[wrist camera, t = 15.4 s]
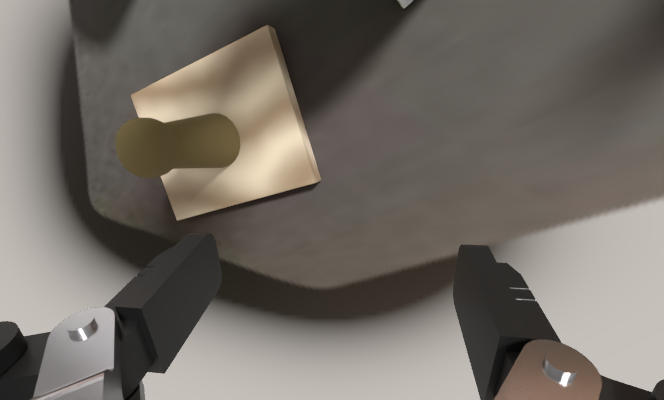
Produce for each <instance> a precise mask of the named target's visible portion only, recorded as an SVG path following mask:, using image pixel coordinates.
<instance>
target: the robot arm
mask: <svg viewBox="0 0 664 400" xmlns="http://www.w3.org/2000/svg"><path fill="white" fill-rule="evenodd" d="M221 280H222V271H221V266H220V261H219V256H218V252H217V247H216V242H215V239H214V237H213V235H212V234H202V233H188V234H186V235H185V236H184V237H183V238H182V239H181V240H180V241H179V242H178V243H177V244H176V245H175V246H174V247H171V248H169V249H167V250H166V251H164V252H162V253H161V254H159V255H157V256H156V257H155V258H154V259H153V260H152V261H151V262H150V263H149V264H148V265H147V267H146V268H144V269H143V270H142V271H141V272H140V273H139V274H138V276H137V277H134V278H133V279H132V280H131V281H130V282H129V283H128V284H127V285H126V286H125V287H124V288H123V289H122V290H121V291H120V292H119V293H118V294H117V295H116V296H115V297H114V298H113V299H112V300H111V301H110V302H109V303H108V304H107V305H106V306H105V307H94V308H90V309H85V310H83V311H80V312H78V313H76V314H74V315H71V316H69V317H68V318H66V319H65V320H63V321H62V322H61V323H59V324H58V325H57V326H56V327H55V328H54V329H53V330H52V331H51V332H47V333H42V334H36V335H30V336H23V334H22V333H21V331H20V329H19V328H18V326H17V325H16V324H15V323H13V322H8V321H6V322H0V400H145V394H144V385H143V383H142V379H143V377H144V376H145V374H146V373H147V372H155V373H165V372H166V370H167V369H168V367H169V366H170V364H171V363H172V361H173V360H174V358H175V356H176V355H177V353H178V352H179V350H180V349H181V347H182V346H183V344H184V342H185V341H186V339H187V338H188V336H189V335H190V333H191V332H192V330H193V328H194V327H195V325H196V324H197V322H198V321H199V319H200V318H201V316H202V314H203V313H204V311H205V310H206V308H207V307H208V305H209V304H210V302H211V301H212V299H213V298H214V296H215V294H216V293H217V291H218V290H219V287H220V285H221ZM453 298H454V305H455V309H456V312H457V316H458V319H459V323H460V327H461V331H462V333H463V338H464V341H465V345H466V348H467V352H468V356H469V359H470V363H471V366H472V370H473V374H474V377H475V381H476V384H477V388H478V392H479V395H480V399H481V400H664V380H661V381H659V382H658V383H657V384H656V386H655V388H654V390H653V391H652V392H649V391H646V390H643V389H640V388H637V387H633V386H631V385H627V384H624V383H621V382H618V381H615V380H611V379H609V378H606V377H604V376H602V375H600V374H599V372H598V370H597V369H596V367H595V366H594V365H593V364H592V363H591V362H590V361H589V360H588V359H587V358H586V357H585V356H584V355H582V354H581V353H580V352H578V351H577V350H575V349H573V348H571V347H569V346H567V345H565V344H563V343H561V341H560V339H559V338H558V336H557V335H556V333H555V331H554V330H553V328H552V326H551V324H550V323H549V321H548V319H547V318H546V316H545V314H544V313H543V311H542V309H541V308H540V306H539V304H538V303H537V301H535V298H534V296H533V294H532V293H531V291H530V290H529V289H528V286H527V284H526V283H525V281H524V279H523V277H522V276H521V274H519V273H518V272H517V271H516V270H515V269H513V268H512V267H511V266H510V265H508V264H507V263H497V262H496V260H495V258H494V256H493V254H492V252H491V251H490V249H489V247H488V246H484V245H461V246H460V248H459V252H458V259H457V266H456V272H455V278H454V285H453Z"/></svg>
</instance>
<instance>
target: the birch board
mask: <svg viewBox="0 0 664 400" xmlns="http://www.w3.org/2000/svg"><path fill="white" fill-rule="evenodd" d="M131 98H132V100H133V103H134V106H135V108H136V111H137V114H138V117H139V118H153V119H156V120H159V121H161V122H163V123H165V122H170V121H175V120H180V119H186V118H191V117H196V116H201V115H206V114H211V113H218V114H222V115H224V116H226V117H227V118H229V119H230V120H231V121H232V122H233V123H234V125H235V127H236V128H237V130H238V133H239V137H240V150H239V155H238V156H237V158H236V160H235V161H234V162H233V163H232V164H231V165H229V166H227V167H224V168H185V169H172V170H171V171H170V172H168V173H167V174H165V175H162V176H161V179H162V182H163V184H164V187H165V190H166V192H167V195H168V198H169V200H170V203H171V206H172V209H173V211H174V214H175V217H176V219H177V221H178V220H181V219H185V218H189V217H192V216H196V215H200V214H203V213H207V212H211V211H214V210H218V209H222V208H225V207H229V206H233V205H236V204H240V203H244V202H247V201H251V200H255V199H258V198H262V197H266V196H269V195H273V194H277V193H280V192H284V191H288V190H291V189H295V188H298V187H302V186H306V185H309V184H313V183H316V182H319V181H321V178H320V174H319V171H318V168H317V165H316V161H315V158H314V155H313V152H312V148H311V145H310V142H309V138H308V135H307V132H306V129H305V125H304V122H303V119H302V116H301V112H300V109H299V106H298V102H297V99H296V96H295V93H294V89H293V86H292V83H291V80H290V76H289V73H288V70H287V67H286V63H285V60H284V57H283V53H282V50H281V47H280V44H279V40H278V37H277V34H276V31H275V28H273V27H271V26H268V25H266V26H264V27H262V28H260V29H258V30H256V31H254V32H252V33H250V34H248V35H247V36H245V37H243V38H241V39H239V40H237V41H235V42H233V43H231V44H229V45H227V46H225V47H223V48H221V49H219V50H217V51H215V52H214V53H212V54H210V55H208V56H206V57H204V58H202V59H200V60H198V61H196V62H194V63H192V64H190V65H188V66H186V67H184V68H182V69H181V70H179V71H177V72H175V73H173V74H171V75H169V76H167V77H165V78H163V79H161V80H159V81H157V82H155V83H153V84H151V85H150V86H148V87H146V88H144V89H142V90H140V91H138V92H136V93H134V94H132V95H131Z"/></svg>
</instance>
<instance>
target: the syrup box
mask: <svg viewBox="0 0 664 400" xmlns="http://www.w3.org/2000/svg"><path fill="white" fill-rule="evenodd" d="M397 1H398V3H399V4H400V6H401V7H402V8H406V7H407V6H408V5H409V4H410V3H411V2H412V1H413V0H397Z"/></svg>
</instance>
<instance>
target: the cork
mask: <svg viewBox="0 0 664 400" xmlns="http://www.w3.org/2000/svg"><path fill="white" fill-rule="evenodd" d="M115 145H116V152H117V155H118V158H119V160H120V162H121V163H122V165H123V167H124V168H126V169H127V170H128V171H129V172H130V173H132V174H134V175H136V176H139V177H143V178H156V177H159V176H162V175H165V174H167V173H168V172H170V171H171V170H172V169H185V168H224V167H227V166H229V165H231V164H232V163H233V162H234V161H235V160H236V158H237V156H238V155H239V150H240V137H239V133H238V130H237V128H236V127H235V125H234V123H233V122H232V121H231V120H230V119H229V118H227V117H226V116H224V115H222V114H218V113H211V114H206V115H201V116H196V117H191V118H186V119H180V120H175V121H170V122H165V123H163V122H161V121H159V120H156V119H153V118H135V119H132V120H130V121H127V122H126V123H125V124H124V125H123V126H122V127H121V128H120V129H119V130H118V133H117V135H116V142H115Z"/></svg>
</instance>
